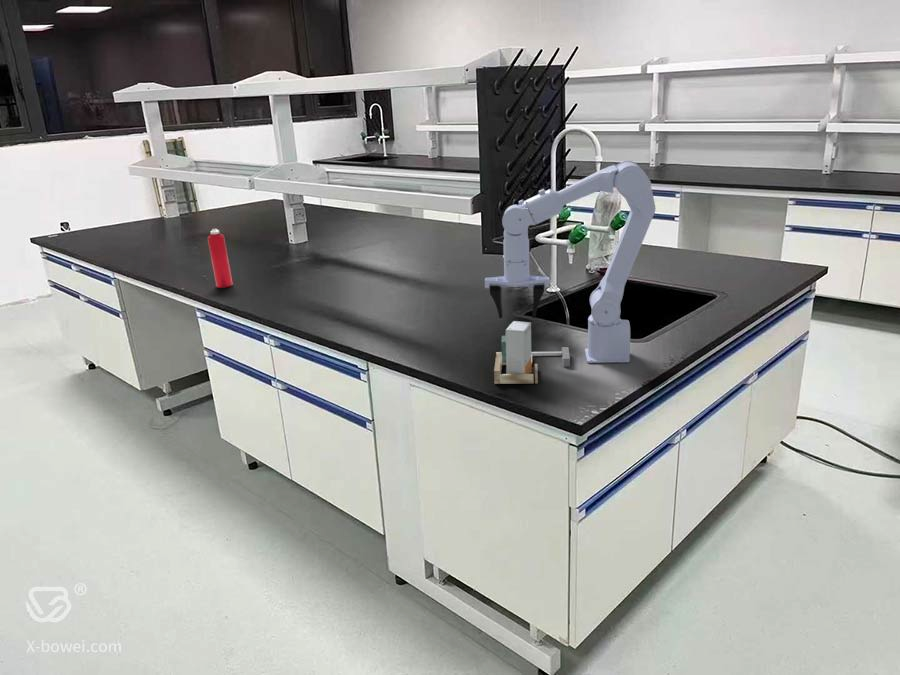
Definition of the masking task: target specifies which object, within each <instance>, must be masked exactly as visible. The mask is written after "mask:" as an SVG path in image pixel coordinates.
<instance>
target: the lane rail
mask: <svg viewBox="0 0 900 675" xmlns="http://www.w3.org/2000/svg"><path fill="white" fill-rule="evenodd" d="M569 350H570V348H569V347H568V346H561V351H531V355H532V357H549V356H550V357H551V356H552V357H555V356H556V357H557V356H558V357H559V356H560V357H561V358H562V367H563V368H568V367H569V368H570V367H571V357H570V351H569ZM498 353H502V351H499V352H498V351H497V352H495V354H496V355H495V357H497V354H498Z"/></svg>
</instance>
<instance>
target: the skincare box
mask: <svg viewBox="0 0 900 675" xmlns="http://www.w3.org/2000/svg"><path fill="white" fill-rule="evenodd" d="M505 336H506V365H505V367H506V371H505V372H506V373H505V374H532V365H531V352H532V322H531V321H529V322H528V321H518V320H513V321H512V322H511V323H510V324H509V325H508V327H507V328H506V329H505Z"/></svg>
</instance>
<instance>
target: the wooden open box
mask: <svg viewBox="0 0 900 675" xmlns="http://www.w3.org/2000/svg"><path fill="white" fill-rule="evenodd" d="M500 344H501V346H500V347H501V352H502V353H498V354H497V356H495V360H494V361H495V362H494V368H493V378H494V382H493V383H494V385H495V384H496V385H497V384H498V385H500V384H503V385H504V384H511V385H512V384H521V385H522V384H523V385H524V384H527V385H528V384H538V382H539V379H538V378H539V377H538V376H539V375H538V372H539V371H538V363H534V373H530V374H506V373H502V369H503V366H506V335H501V343H500ZM532 365H533V356H532V355H531V366H532Z"/></svg>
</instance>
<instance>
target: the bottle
mask: <svg viewBox="0 0 900 675" xmlns="http://www.w3.org/2000/svg"><path fill="white" fill-rule="evenodd" d="M209 233H210V235H209V236H207V243H208V248H209V254H210V258H211V259H210V260H211V264H212V270H213V276H214V280H215V287H216V288H218V289H219V288H220V289H222V288H223V289H224V288H229V287H232V286H233V285H234V282H233V278H232V272H231V267H230V263H229V262H230V261H229V258H228V257H229V256H228V250H227V245H226V239H225V236H224V234H222V233H220V230H219V229H217V228H212V229H211V231H209Z"/></svg>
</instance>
